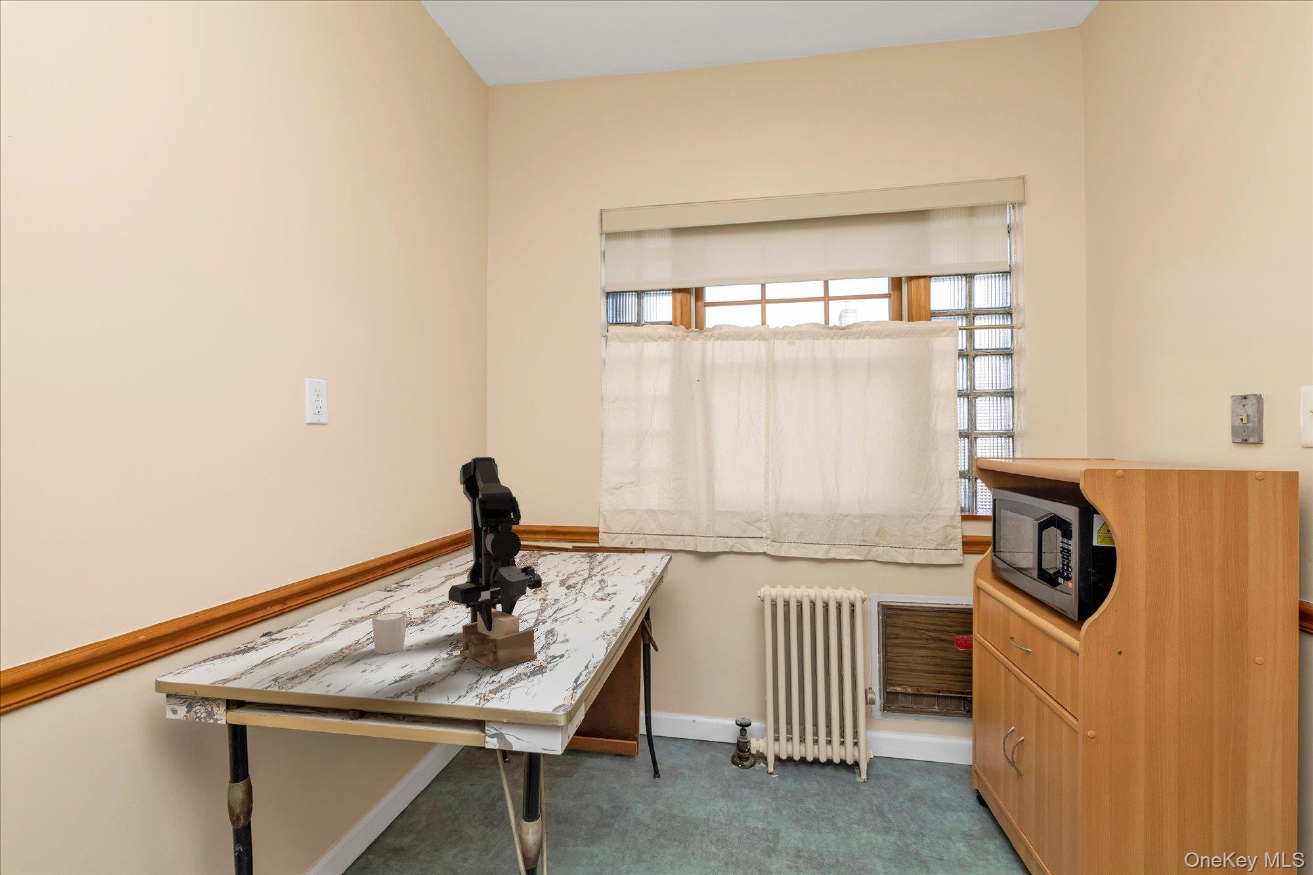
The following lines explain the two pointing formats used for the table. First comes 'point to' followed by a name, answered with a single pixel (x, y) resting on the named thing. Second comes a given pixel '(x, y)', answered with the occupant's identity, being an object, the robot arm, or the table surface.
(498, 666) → the rack
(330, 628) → the table surface
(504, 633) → the tan rectangular block
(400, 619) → the white tapered cup
